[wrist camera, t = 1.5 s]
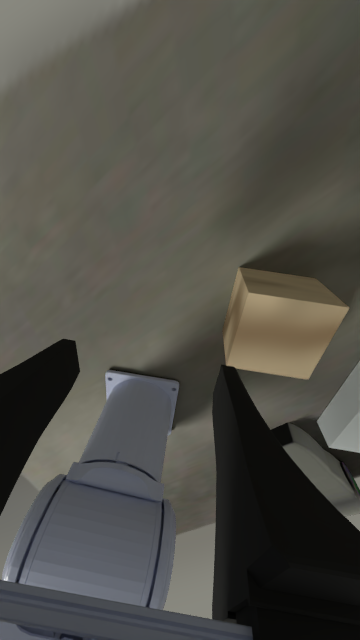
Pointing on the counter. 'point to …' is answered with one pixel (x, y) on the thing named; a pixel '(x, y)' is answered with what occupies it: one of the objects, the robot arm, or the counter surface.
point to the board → (343, 416)
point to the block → (279, 323)
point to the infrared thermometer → (320, 468)
